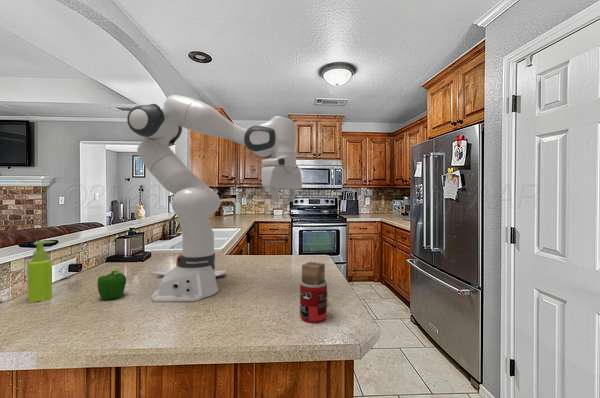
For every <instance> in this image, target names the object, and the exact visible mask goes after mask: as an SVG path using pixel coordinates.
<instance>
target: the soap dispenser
mask: <svg viewBox="0 0 600 398" xmlns="http://www.w3.org/2000/svg"><path fill="white" fill-rule="evenodd" d="M55 243H56V241H54V240H41V241H40V240H39V241H35V242H33V245H34V246H36V250H35V251H33V253H32V255H33V256H32V257H33V258H32V260H33V261H29V262H28V263H27V269H28V270H27V272H28V273H27V274H28V275H27V276H28V277H27V278H28V280H27V283H28V284H27V285H28V288H27V289H28V290H27V292H28V293H27V294H28V296H27V297H28V298H27V300H28V301H30V302H29V303H31V302H33V303H37V302H36V301H41V302H43V301H42V300H45V301H47V300H46V299H48V300H50V299H52V298H51V297H53V295H52V294H53V293H52V291H53V288H52V287H53V285H52V284H53V283H52V282H53V281H52V279H53V277H52V276H53V275H52V273H53V272H52V271H53V270H52V268H53V267H52V266H53V265H52V259H48V257H47V255H48V254H47V252H48V251H47V250H46V249H44V244H55ZM49 298H50V299H49ZM28 301H27V302H28Z"/></svg>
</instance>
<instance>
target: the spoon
mask: <svg viewBox="0 0 600 398" xmlns="http://www.w3.org/2000/svg"><path fill="white" fill-rule="evenodd" d="M171 270H172V269H169V268H166V267H165V266H161V267H160V268H159V269H158V270H156V271H151V272H150V274H152V275H157V276H163V277H164V276H165V275H166V274H167V273H168V272H170V271H171ZM227 272H228V271H227V270H225V269H223V270H215V278H218V277H221V276H223V275H225V274H227Z"/></svg>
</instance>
